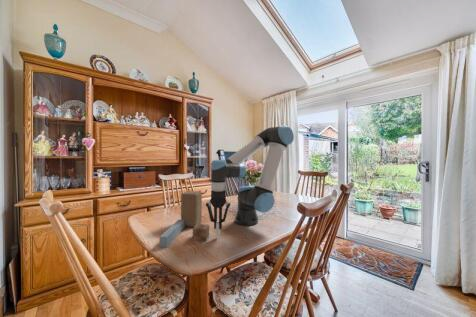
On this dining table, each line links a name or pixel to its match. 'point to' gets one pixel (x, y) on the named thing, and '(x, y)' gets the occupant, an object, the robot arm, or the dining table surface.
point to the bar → (171, 233)
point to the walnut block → (201, 232)
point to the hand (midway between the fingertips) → (217, 234)
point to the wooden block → (191, 208)
